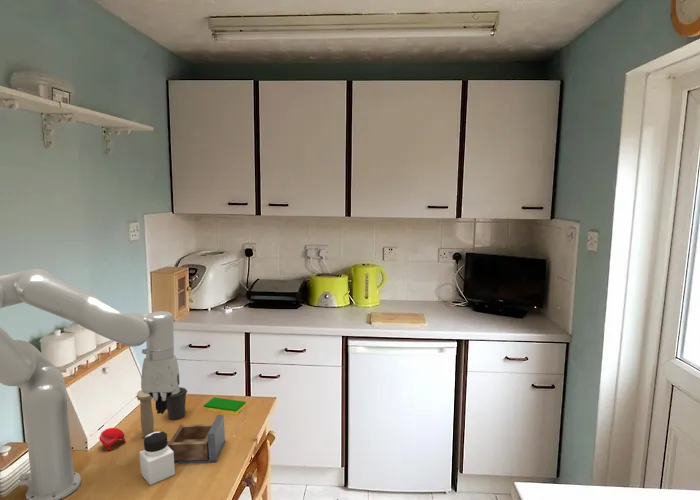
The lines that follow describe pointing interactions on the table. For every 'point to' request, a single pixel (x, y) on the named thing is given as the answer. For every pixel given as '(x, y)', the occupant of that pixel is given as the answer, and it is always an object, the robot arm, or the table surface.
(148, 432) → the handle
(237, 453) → the table surface
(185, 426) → the open wooden box
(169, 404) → the coffee cup
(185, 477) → the table surface
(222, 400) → the dish sponge
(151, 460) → the medicine bottle
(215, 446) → the track
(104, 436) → the red curved legged piece
